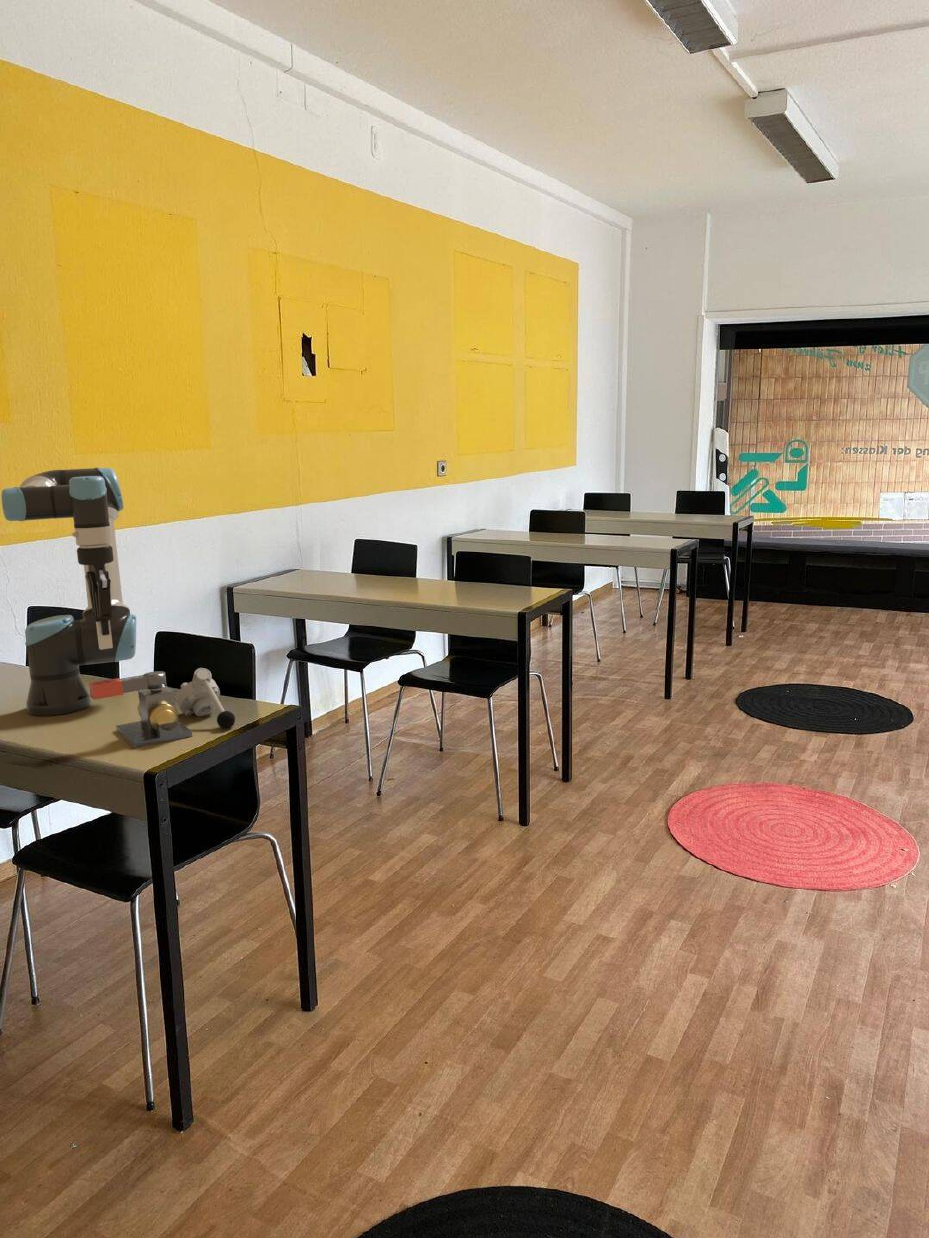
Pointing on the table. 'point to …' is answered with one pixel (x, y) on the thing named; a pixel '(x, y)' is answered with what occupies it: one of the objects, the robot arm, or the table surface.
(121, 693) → the lever
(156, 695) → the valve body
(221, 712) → the mechanical valve
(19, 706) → the table surface
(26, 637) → the robot arm
